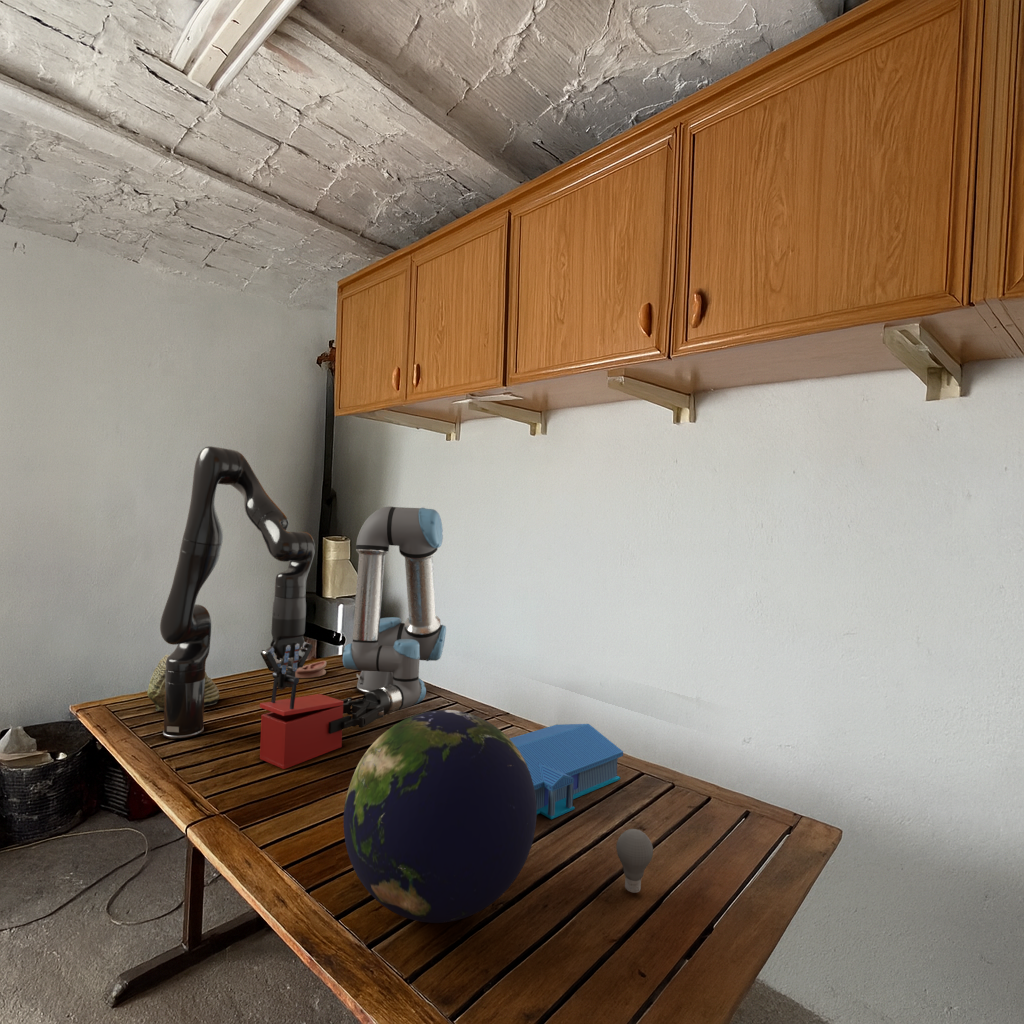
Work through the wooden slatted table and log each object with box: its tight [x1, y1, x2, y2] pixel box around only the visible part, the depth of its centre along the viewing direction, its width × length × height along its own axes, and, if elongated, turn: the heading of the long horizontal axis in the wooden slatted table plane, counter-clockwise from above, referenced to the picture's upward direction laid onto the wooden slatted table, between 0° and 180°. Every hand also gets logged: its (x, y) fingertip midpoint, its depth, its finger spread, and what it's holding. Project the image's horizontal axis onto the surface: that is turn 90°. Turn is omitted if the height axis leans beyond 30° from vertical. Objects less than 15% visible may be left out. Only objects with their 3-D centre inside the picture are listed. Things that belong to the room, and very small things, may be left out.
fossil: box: [147, 654, 221, 712], centre depth 185 cm, size 9×18×15 cm, turn 132°
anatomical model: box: [285, 660, 327, 679], centre depth 222 cm, size 13×4×12 cm
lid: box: [259, 672, 343, 716], centre depth 156 cm, size 18×9×8 cm, turn 147°
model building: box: [509, 723, 624, 820], centre depth 142 cm, size 39×24×10 cm, turn 132°
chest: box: [259, 705, 344, 770], centre depth 156 cm, size 17×9×11 cm, turn 146°
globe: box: [343, 709, 538, 924], centre depth 100 cm, size 30×30×30 cm
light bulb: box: [615, 828, 654, 894], centre depth 106 cm, size 6×6×10 cm
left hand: (285, 687), depth 151 cm, fingers closed on lid
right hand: (316, 723), depth 159 cm, fingers closed on chest, 9 cm apart
